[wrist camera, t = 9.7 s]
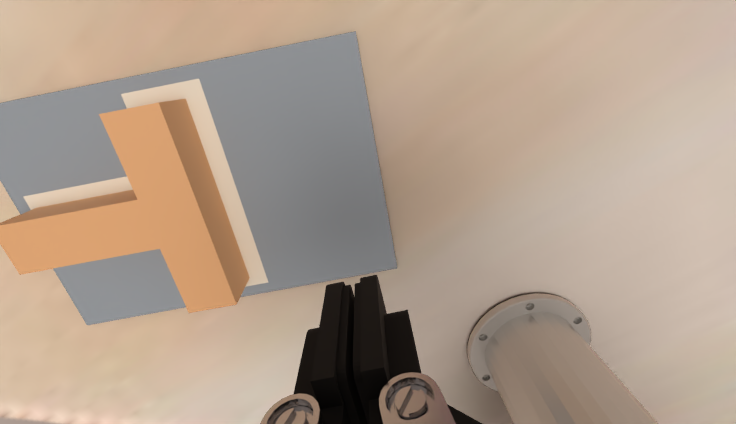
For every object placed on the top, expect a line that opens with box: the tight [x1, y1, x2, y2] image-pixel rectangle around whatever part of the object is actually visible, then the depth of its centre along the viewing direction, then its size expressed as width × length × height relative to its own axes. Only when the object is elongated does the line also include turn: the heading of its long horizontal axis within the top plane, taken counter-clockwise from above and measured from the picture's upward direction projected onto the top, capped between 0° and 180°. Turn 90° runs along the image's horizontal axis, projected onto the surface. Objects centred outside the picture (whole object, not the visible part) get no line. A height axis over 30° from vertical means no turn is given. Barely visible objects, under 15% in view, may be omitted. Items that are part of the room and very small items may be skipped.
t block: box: [0, 99, 250, 313], centre depth 28 cm, size 16×15×4 cm
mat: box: [0, 31, 397, 325], centre depth 29 cm, size 20×30×1 cm, turn 101°
